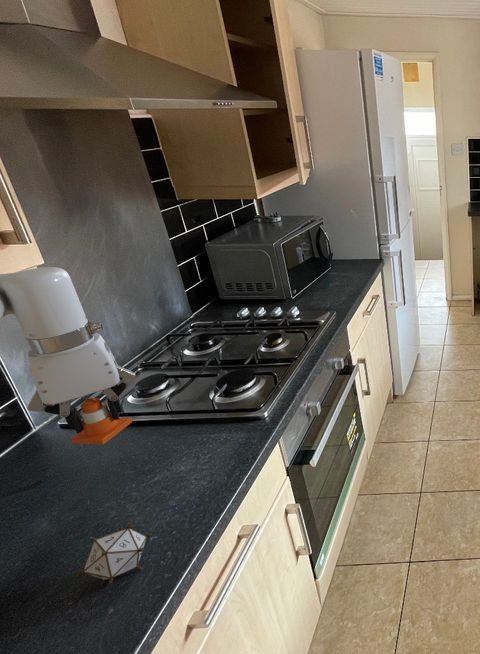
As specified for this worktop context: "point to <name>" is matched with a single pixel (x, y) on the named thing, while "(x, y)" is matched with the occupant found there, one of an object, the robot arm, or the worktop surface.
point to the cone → (98, 423)
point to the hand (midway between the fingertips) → (98, 421)
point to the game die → (115, 554)
